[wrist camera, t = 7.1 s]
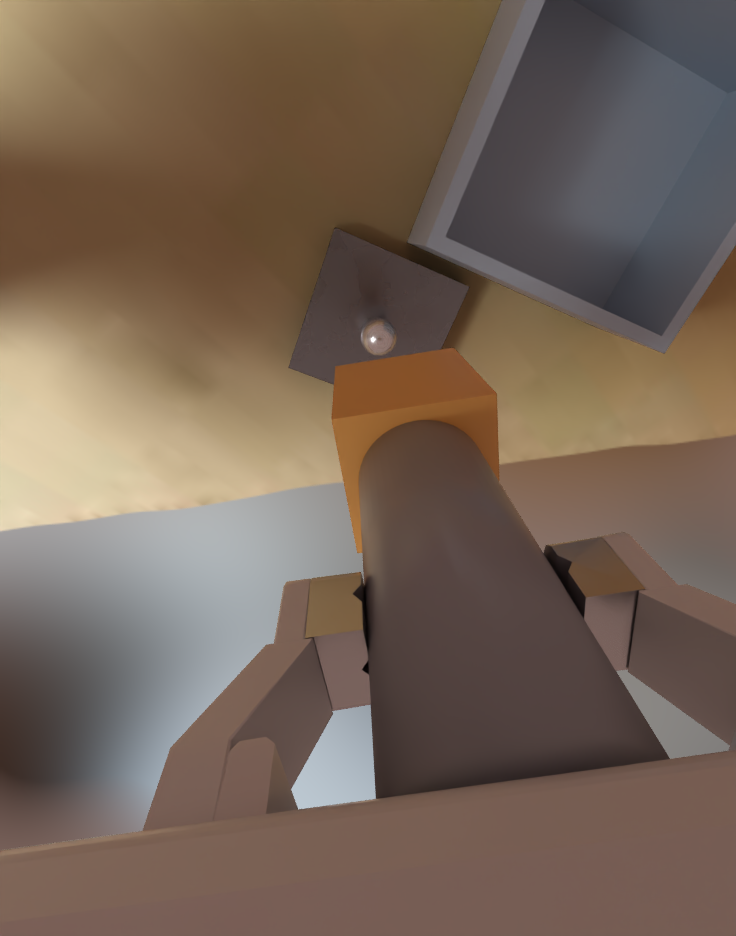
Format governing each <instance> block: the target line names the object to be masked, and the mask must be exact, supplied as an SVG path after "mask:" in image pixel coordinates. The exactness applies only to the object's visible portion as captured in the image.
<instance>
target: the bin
mask: <svg viewBox="0 0 736 936" xmlns="http://www.w3.org/2000/svg"><path fill="white" fill-rule="evenodd" d="M407 243H409V244H412V245H414V246H416V247H418V248H420V249H423V250H425V251H427V252H429V253H432V254H434V255H436V256H438V257H441V258H443V259H445V260H447V261H449V262H452V263H454V264H456V265H458V266H461V267H463V268H465V269H467V270H470V271H472V272H474V273H476V274H478V275H481V276H483V277H485V278H487V279H490V280H492V281H494V282H496V283H499V284H501V285H503V286H505V287H507V288H510V289H512V290H514V291H516V292H519V293H521V294H523V295H525V296H527V297H530V298H532V299H534V300H536V301H539V302H541V303H543V304H545V305H548V306H550V307H552V308H554V309H556V310H559V311H561V312H563V313H565V314H568V315H570V316H572V317H574V318H577V319H579V320H581V321H583V322H585V323H588V324H590V325H592V326H594V327H597V328H599V329H602V330H605V331H607V332H610V333H612V334H615V335H617V336H620V337H623V338H625V339H628V340H630V341H633V342H636V343H638V344H641V345H643V346H646V347H649V348H651V349H654V350H656V351H659V352H662V353H664V354H665V352H666V350H667V349H668V347H669V346H670V344H671V343H672V341H673V340H674V338H675V337H676V335H677V334H678V332H679V331H680V329H681V328H682V326H683V325H684V323H685V322H686V320H687V319H688V317H689V316H690V314H691V312H692V311H693V309H694V308H695V306H696V305H697V303H698V302H699V300H700V299H701V297H702V296H703V294H704V293H705V291H706V290H707V288H708V287H709V285H710V284H711V282H712V281H713V279H714V278H715V276H716V274H717V273H718V271H719V270H720V268H721V267H722V265H723V264H724V262H725V261H726V259H727V258H728V256H729V255H730V253H731V252H732V250H733V249H734V247H735V246H736V0H502V2H501V4H500V7H499V9H498V12H497V14H496V17H495V19H494V22H493V25H492V27H491V30H490V32H489V35H488V37H487V40H486V42H485V45H484V47H483V50H482V53H481V55H480V58H479V60H478V63H477V65H476V68H475V70H474V73H473V75H472V78H471V81H470V83H469V86H468V88H467V91H466V93H465V96H464V98H463V101H462V103H461V106H460V109H459V111H458V114H457V116H456V119H455V121H454V124H453V126H452V129H451V131H450V134H449V137H448V139H447V142H446V144H445V147H444V149H443V152H442V154H441V157H440V159H439V162H438V164H437V167H436V170H435V172H434V175H433V177H432V180H431V182H430V185H429V187H428V190H427V192H426V195H425V198H424V200H423V203H422V205H421V208H420V210H419V213H418V215H417V218H416V220H415V223H414V226H413V228H412V231H411V233H410V236H409V238H408V241H407Z"/></svg>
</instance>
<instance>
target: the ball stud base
mask: <svg viewBox="0 0 736 936" xmlns="http://www.w3.org/2000/svg"><path fill="white" fill-rule="evenodd" d="M468 289H469V286H466V285H464V284H462V283H460V282H457V281H455V280H453V279H451V278H448V277H446V276H444V275H442V274H439V273H437V272H435V271H432V270H430V269H428V268H426V267H423V266H421V265H419V264H417V263H414V262H412V261H410V260H408V259H405V258H403V257H401V256H398V255H396V254H394V253H392V252H389V251H387V250H385V249H383V248H380V247H378V246H376V245H374V244H371V243H369V242H367V241H364V240H362V239H360V238H358V237H355V236H353V235H351V234H349V233H346V232H344V231H342V230H340V229H337V228H335V229H334V232H333V235H332V238H331V241H330V244H329V247H328V250H327V253H326V256H325V259H324V262H323V265H322V268H321V271H320V274H319V277H318V280H317V283H316V286H315V289H314V292H313V295H312V298H311V301H310V304H309V307H308V310H307V313H306V316H305V319H304V322H303V325H302V328H301V331H300V334H299V337H298V340H297V343H296V346H295V349H294V352H293V355H292V358H291V361H290V365H289V368H291V369H293V370H296V371H299V372H301V373H304V374H307V375H309V376H312V377H315V378H317V379H320V380H323V381H326V382H328V383H331V384H334V378H335V366H340V365H347V364H353V363H359V362H365V361H372V360H378V359H384V358H391V357H397V356H403V355H410V354H416V353H422V352H429V351H435V350H441V348H442V346H443V344H444V341H445V339H446V337H447V335H448V333H449V331H450V328H451V326H452V324H453V322H454V320H455V318H456V315H457V313H458V311H459V309H460V307H461V304H462V302H463V300H464V298H465V296H466V294H467V291H468Z"/></svg>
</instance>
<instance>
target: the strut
mask: <svg viewBox="0 0 736 936" xmlns="http://www.w3.org/2000/svg"><path fill="white" fill-rule="evenodd" d="M332 424H333V429H334V434H335V440H336V445H337V450H338V455H339V460H340V465H341V471H342V476H343V481H344V486H345V491H346V496H347V502H348V506H349V512H350V517H351V522H352V527H353V533H354V538H355V543H356V548H357V553H363V572H364V587H365V602H366V624H367V636H368V654H369V657H368V663H369V681H370V699H371V717H372V734H373V735H372V736H373V754H374V772H375V789H376V799H380V798H387V797H394V796H402V795H409V794H416V793H424V792H431V791H438V790H446V789H453V788H460V787H468V786H475V785H483V784H490V783H497V782H505V781H512V780H519V779H527V778H534V777H542V776H549V775H556V774H564V773H571V772H578V771H586V770H593V769H601V768H608V767H615V766H623V765H630V764H637V763H644V762H652V761H659V760H666V759H670V758H669V757H668V755H667V753H666V752H665V750H664V748H663V747H662V745H661V744H660V742H659V740H658V739H657V737H656V735H655V734H654V732H653V731H652V729H651V727H650V726H649V724H648V722H647V721H646V719H645V718H644V716H643V714H642V713H641V711H640V709H639V708H638V706H637V705H636V703H635V701H634V700H633V698H632V696H631V695H630V693H629V692H628V690H627V688H626V687H625V685H624V683H623V682H622V680H621V679H620V677H619V675H618V674H617V672H616V670H615V669H614V667H613V666H612V664H611V662H610V661H609V659H608V657H607V656H606V654H605V653H604V651H603V649H602V648H601V646H600V644H599V643H598V641H597V640H596V638H595V636H594V635H593V633H592V631H591V630H590V628H589V627H588V625H587V623H586V622H585V620H584V618H583V617H582V615H581V614H580V612H579V610H578V609H577V607H576V605H575V604H574V602H573V601H572V599H571V597H570V596H569V594H568V592H567V591H566V589H565V588H564V586H563V584H562V583H561V581H560V579H559V578H558V576H557V575H556V573H555V571H554V570H553V568H552V566H551V565H550V563H549V562H548V560H547V558H546V557H545V555H544V553H543V552H542V550H541V549H540V547H539V545H538V544H537V542H536V541H535V539H534V537H533V536H532V534H531V532H530V531H529V529H528V528H527V526H526V524H525V523H524V521H523V519H522V518H521V516H520V515H519V513H518V511H517V510H516V508H515V506H514V505H513V503H512V502H511V500H510V498H509V497H508V495H507V494H506V492H505V490H504V489H503V487H502V485H501V484H500V482H499V452H498V418H497V393H496V392H495V391H494V390H493V389H492V388H491V387H490V386H489V385H488V384H487V383H486V382H485V381H484V380H483V378H482V377H481V376H480V375H479V374H478V373H477V372H476V371H475V370H474V369H473V368H472V367H471V366H470V365H469V363H468V362H467V361H466V360H465V359H464V358H463V357H462V356H461V355H460V354H459V353H458V352H457V351H456V350H455V348H448V349H441V350H435V351H429V352H422V353H416V354H410V355H403V356H397V357H391V358H384V359H378V360H372V361H365V362H359V363H353V364H347V365H340V366H335V378H334V392H333V407H332Z"/></svg>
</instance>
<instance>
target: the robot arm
mask: <svg viewBox="0 0 736 936" xmlns="http://www.w3.org/2000/svg"><path fill="white" fill-rule="evenodd" d="M544 555H545V557H546V558H547V560H548V562H549V563H550V565H551V566H552V568H553V570H554V571H555V573H556V575H557V576H558V578H559V579H560V581H561V583H562V584H563V586H564V588H565V589H566V591H567V592H568V594H569V596H570V597H571V599H572V601H573V602H574V604H575V605H576V607H577V609H578V610H579V612H580V614H581V615H582V617H583V618H584V620H585V622H586V623H587V625H588V627H589V628H590V630H591V631H592V633H593V635H594V636H595V638H596V640H597V641H598V643H599V644H600V646H601V648H602V649H603V651H604V653H605V654H606V656H607V657H608V659H609V661H610V662H611V664H612V666H613V667H614V669H615V670H616V671H618V670H627V669H628V672H629V673H630V674H632V675H633V676H635V677H636V678H638V679H639V680H640V681H641V682H643V683H644V684H646V685H647V686H648V687H650V688H651V689H653V690H654V691H655V692H657V693H658V694H660V695H661V696H662V697H664V698H665V699H666V700H668V701H669V702H671V703H672V704H673V705H675V706H676V707H677V708H679V709H680V710H682V711H683V712H684V713H686V714H687V715H688V716H690V717H691V718H693V719H694V720H695V721H697V722H698V723H699V724H701V725H702V726H704V727H705V728H706V729H708V730H709V731H711V732H712V733H713V734H715V735H716V736H717V737H719V738H720V739H722V740H723V741H724V742H726V743H727V744H729V745H730V747H729V751H724V752H718V753H710V754H703V755H695V756H688V757H681V758H674V759H666V760H659V761H652V762H644V763H637V764H630V765H623V766H615V767H608V768H601V769H593V770H586V771H578V772H571V773H564V774H556V775H549V776H542V777H534V778H527V779H519V780H512V781H505V782H497V783H490V784H483V785H475V786H468V787H460V788H453V789H446V790H438V791H431V792H424V793H416V794H409V795H402V796H394V797H387V798H380V799H373V800H365V801H358V802H350V803H343V804H336V805H329V806H322V807H314V808H306V809H299V810H298V808H297V805H296V802H295V799H294V796H293V794H292V791H291V788H292V786H293V785H294V783H295V781H296V779H297V777H298V776H299V774H300V772H301V770H302V769H303V767H304V765H305V763H306V761H307V760H308V757H309V756H310V754H311V752H312V751H313V749H314V747H315V745H316V743H317V742H318V740H319V738H320V736H321V734H322V733H323V731H324V729H325V727H326V725H327V724H328V722H329V720H330V718H331V716H332V715H333V712H332V711H335V710H341V709H347V708H352V707H359V706H365V705H371V699H370V681H369V663H368V657H369V654H368V636H367V624H366V602H365V587H364V583H363V578H362V574H361V572H358V573H349V574H341V575H333V576H325V577H317V578H312V579H303V580H296V581H289V582H286V584H285V585H284V587H283V593H282V599H281V606H280V611H279V617H278V623H277V628H276V635H275V640H274V644H269V645H266V646H265V647H264V648H263V649H262V650H261V651H260V652H259V653H258V654H257V655H256V656H255V658H254V659H253V660H252V661H251V662H250V663H249V664H248V665H247V666H246V667H245V668H244V669H243V670H242V671H241V673H240V674H239V675H238V676H237V677H236V678H235V679H234V680H233V681H232V682H231V683H230V685H228V687H227V688H226V689H225V690H224V691H223V692H222V693H221V694H220V695H219V696H218V697H217V698H216V699H215V701H214V702H213V703H212V704H211V705H210V706H209V707H208V708H207V709H206V710H205V711H204V712H203V713H202V715H201V716H200V717H199V718H198V719H197V720H196V721H195V722H194V723H193V724H192V725H191V726H190V727H189V728H188V730H187V731H186V732H185V733H184V734H183V735H182V736H181V737H180V738H179V739H178V740H177V742H176V743H175V744H174V745H173V746H172V747H171V748H170V751H169V754H168V757H167V760H166V763H165V766H164V769H163V772H162V775H161V777H160V780H159V783H158V786H157V789H156V792H155V796H154V798H153V801H152V804H151V807H150V810H149V813H148V816H147V819H146V822H145V825H144V828H143V831H138V832H131V833H124V834H116V835H109V836H102V837H95V838H87V839H79V840H72V841H65V842H57V843H50V844H43V845H36V846H29V847H21V848H14V849H7V850H0V936H736V604H734V603H731V602H729V601H726V600H724V599H722V598H719V597H717V596H714V595H712V594H709V593H707V592H704V591H702V590H700V589H697V588H695V587H692V586H690V585H687V584H684V585H677V584H676V583H675V581H674V580H673V579H672V578H671V577H670V576H669V575H668V574H667V573H666V572H665V571H664V570H663V569H662V568H661V567H660V566H659V565H658V564H657V563H656V562H655V561H654V560H653V559H652V558H651V556H650V555H649V554H648V553H647V552H646V551H645V550H644V549H643V548H642V547H641V546H640V545H639V544H638V543H637V542H636V541H635V540H634V539H633V538H632V537H631V536H630V535H629V534H627V533H625V532H621V533H615V534H609V535H604V536H598V537H597V538H590V539H584V540H577V541H570V542H564V543H557V544H550V545H546V547H545V550H544Z"/></svg>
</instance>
